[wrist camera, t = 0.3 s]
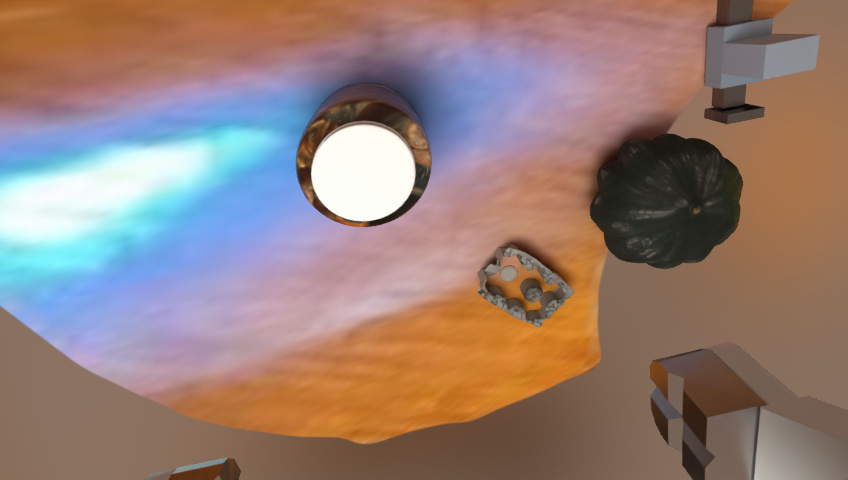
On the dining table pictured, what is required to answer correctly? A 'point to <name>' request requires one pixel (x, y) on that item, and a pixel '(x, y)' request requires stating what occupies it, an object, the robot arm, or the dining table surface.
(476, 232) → the dining table surface
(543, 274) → the egg carton
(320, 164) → the jar
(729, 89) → the rail
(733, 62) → the block
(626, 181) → the squash
